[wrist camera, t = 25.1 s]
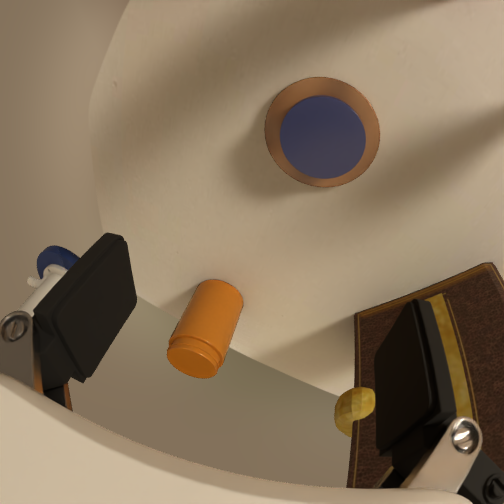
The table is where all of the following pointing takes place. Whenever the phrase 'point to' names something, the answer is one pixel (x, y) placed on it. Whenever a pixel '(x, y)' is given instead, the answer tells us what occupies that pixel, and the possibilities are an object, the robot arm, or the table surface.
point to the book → (458, 358)
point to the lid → (322, 137)
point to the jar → (205, 329)
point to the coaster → (328, 88)
